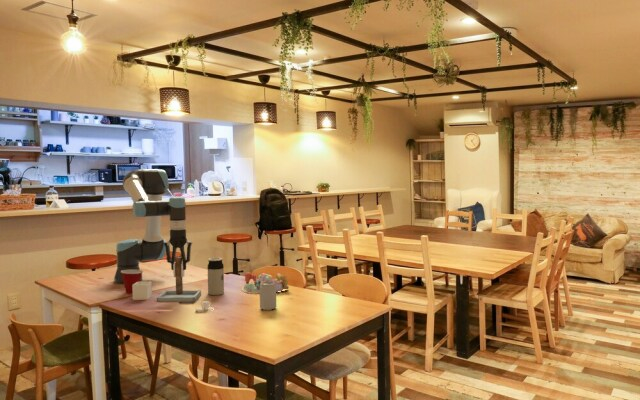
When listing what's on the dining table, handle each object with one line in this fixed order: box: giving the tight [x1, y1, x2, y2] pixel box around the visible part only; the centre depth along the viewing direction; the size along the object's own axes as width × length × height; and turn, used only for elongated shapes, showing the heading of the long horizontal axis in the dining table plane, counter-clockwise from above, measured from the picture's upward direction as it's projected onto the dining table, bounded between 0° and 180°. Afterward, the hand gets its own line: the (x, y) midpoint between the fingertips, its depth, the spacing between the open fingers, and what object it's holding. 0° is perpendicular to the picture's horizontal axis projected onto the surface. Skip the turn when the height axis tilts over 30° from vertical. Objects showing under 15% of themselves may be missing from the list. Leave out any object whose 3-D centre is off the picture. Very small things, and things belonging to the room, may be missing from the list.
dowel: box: [174, 256, 184, 295], centre depth 243 cm, size 3×3×18 cm
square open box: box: [132, 281, 153, 301], centre depth 243 cm, size 7×7×8 cm
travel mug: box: [207, 257, 225, 296], centre depth 253 cm, size 8×8×18 cm
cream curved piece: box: [195, 300, 215, 313], centre depth 225 cm, size 9×8×4 cm
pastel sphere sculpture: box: [241, 271, 289, 294], centre depth 262 cm, size 25×24×9 cm
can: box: [259, 282, 277, 311], centre depth 225 cm, size 8×8×12 cm
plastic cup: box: [121, 269, 144, 295], centre depth 255 cm, size 11×11×12 cm
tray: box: [156, 289, 202, 304], centre depth 244 cm, size 14×18×2 cm
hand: (179, 276), depth 243 cm, fingers closed on dowel, 3 cm apart
